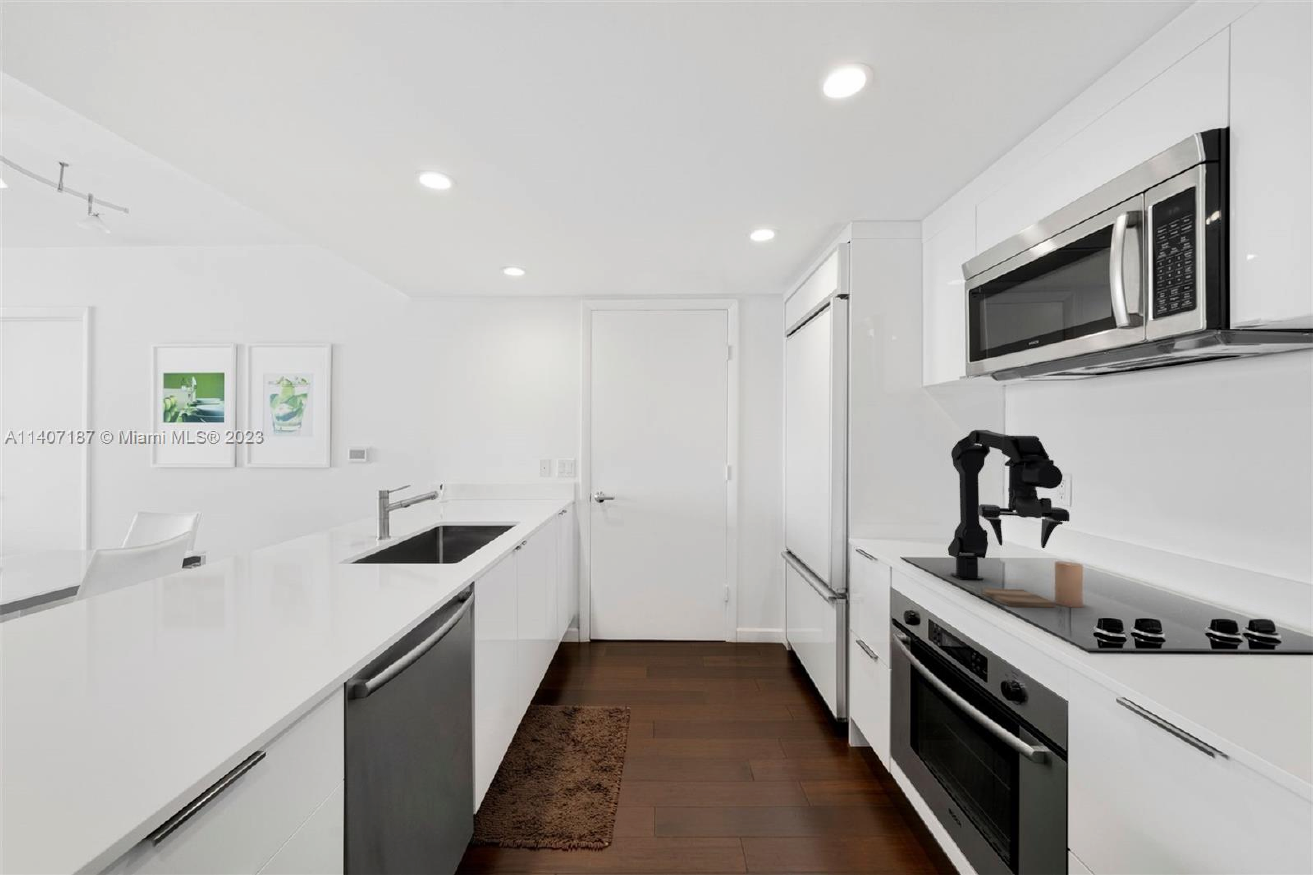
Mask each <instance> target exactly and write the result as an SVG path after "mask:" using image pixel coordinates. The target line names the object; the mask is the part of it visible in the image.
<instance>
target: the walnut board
mask: <svg viewBox="0 0 1313 875" xmlns="http://www.w3.org/2000/svg"><path fill="white" fill-rule="evenodd" d="M980 594H981V595H983V596H985V597H988V598H990V599H992V600H994V601H995V602H998V603H1000V604H1003V605H1005V606H1007V607H1008V608H1012V607H1013V608H1056V603H1055V601H1054V600H1050V599H1048V598H1045V597H1042V596H1040V595H1038V594H1035V593H1033V592H1030V591H1028V590H1026V589H1021V588H1020V589H1008V588H1007V589H1006V588H1005V589H1004V588H1003V589H1002V588H999V589H998V588H997V589H996V588H981V589H980Z"/></svg>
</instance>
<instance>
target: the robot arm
mask: <svg viewBox="0 0 1313 875" xmlns="http://www.w3.org/2000/svg"><path fill="white" fill-rule="evenodd" d="M991 448H993V449H996V450H1000V451H1001V454H1002V455H1004V456H1006V457H1007V458H1009V459H1008V460H1006V462H1005V463H1004V466H1005V467H1008V504H1007V507H1000V506H998V505H997V504H987V503H986V504H983V503H982V504H981V503H980V497H979V496H980V494H979V490H980V489H979V487H980V486H979V474H980V473H981V471H982V469H983V468H984V466H985V460H986V457H987V456H988V455H989V454H990V452H991ZM950 455H951V459H952V464H953V465H952V466H953V467H954V469H955V470H956V471H957V473H958V475H959V476H958V477H959V509H960V513H959V514H960V515H959V516H960V517H959V518H960V522H959V524H958V526H957V527H956V529H955V530H954V536H953V537H954V538H953V540H952V541H951V542H950V544H949V546H948V547H947V551H948V555H949V556H951V557H952V558H955V572H950V575H951V576H953V577H954V578H955V577H956V578H957V579H960V580H968V581H969V580H970V581H971V580H978V581H979V580H981V581H983V580H984V577H982V576H979V559H986V555H987V552H988V551H987V550H988V546H989V541H988V534H989V533H988V531H987V530H986V529H984V528H983V527H982V525H981V523H980V517H981V518H984V519H985V520H987V521H989V524H990V525H991V527H992V530H993V531H994V534H995V537H996V539H997V542H998V545H1000V546H1003V533H1002V518H1000V516H1010V517H1011V516H1013V517H1019V518H1022V519H1023V518H1025V519H1027V518H1035V519H1041V533H1040V536H1041V537H1040V546H1041V548H1042V549H1045V548H1046V546H1047V543H1048V541H1049V539H1050V536H1051V535H1052V533H1053V531H1054V529H1056V527H1058V526H1059V525H1063V523H1064V522H1070V516H1071V515H1070V512H1069V510H1068V509H1066V508H1062V507H1054V506H1053V504H1052V499H1051V498H1050V497H1040V498H1039V497H1038V490H1037V488H1041V489H1050V490H1051V489H1056V488H1057V487H1059V486H1060V484H1061V483H1062V481H1063V473H1062V471H1061V469H1060V468H1059V467H1058V466H1056V465H1055V463H1054V462H1055V461H1054V459H1050V456H1049V454H1048V453H1047V450H1046V449H1045V447H1044V446H1043V443H1042V441H1040V438H1039V437H1038V436H1037V435H1009V434H1005V433H999V432H995V431H991V430H988V429H974V430H971V431H970V432H969V434H968V435H967V436H965V437H964V438H963V437H962V439H960V440H958V441H957V442H956V444H954V447H953V448H952V450H951V454H950Z"/></svg>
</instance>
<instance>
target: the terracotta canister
mask: <svg viewBox="0 0 1313 875" xmlns="http://www.w3.org/2000/svg"><path fill="white" fill-rule="evenodd" d="M1083 581H1084V566H1083V564H1082V563H1077V562H1073V561H1061V560H1060V561H1054V602H1055V605H1056V604H1057V605H1058V606H1062V607H1068V608H1069V607H1070V608H1082V607H1083V606H1084V591H1083V590H1084V588H1083V587H1084V585H1083V584H1084V582H1083Z"/></svg>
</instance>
